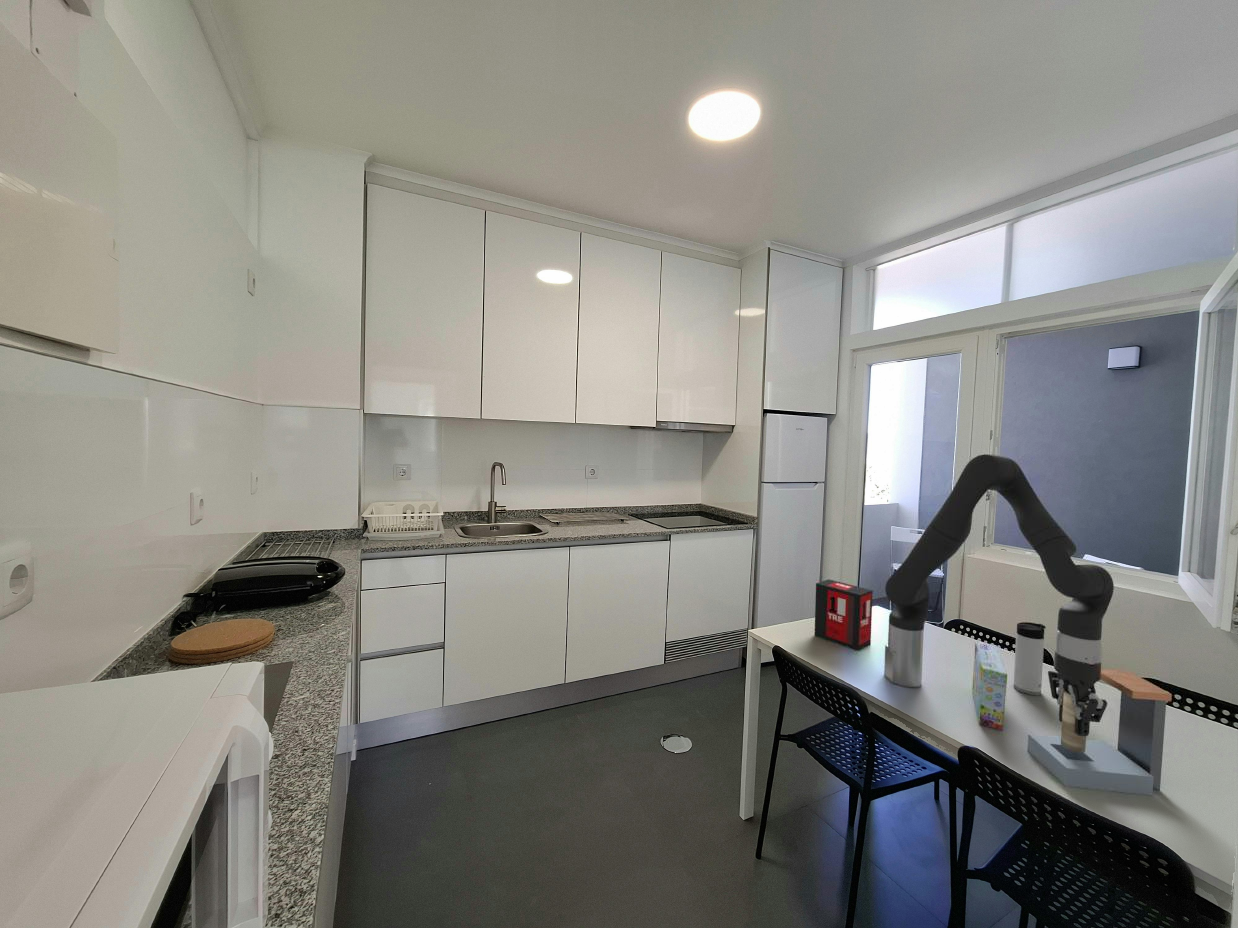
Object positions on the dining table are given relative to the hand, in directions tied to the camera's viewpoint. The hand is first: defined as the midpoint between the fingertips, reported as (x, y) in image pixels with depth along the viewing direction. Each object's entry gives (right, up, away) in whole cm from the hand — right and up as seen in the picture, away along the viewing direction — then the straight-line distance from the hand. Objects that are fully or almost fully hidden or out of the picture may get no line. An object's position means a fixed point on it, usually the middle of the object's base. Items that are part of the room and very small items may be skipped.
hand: (1073, 728), depth 107 cm
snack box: (0, -9, +25) cm, 26 cm away
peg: (0, -4, 0) cm, 4 cm away
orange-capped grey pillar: (+10, -10, -1) cm, 14 cm away
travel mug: (+20, -8, +35) cm, 41 cm away
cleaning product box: (-20, -6, +69) cm, 72 cm away
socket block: (+3, -10, 0) cm, 10 cm away
